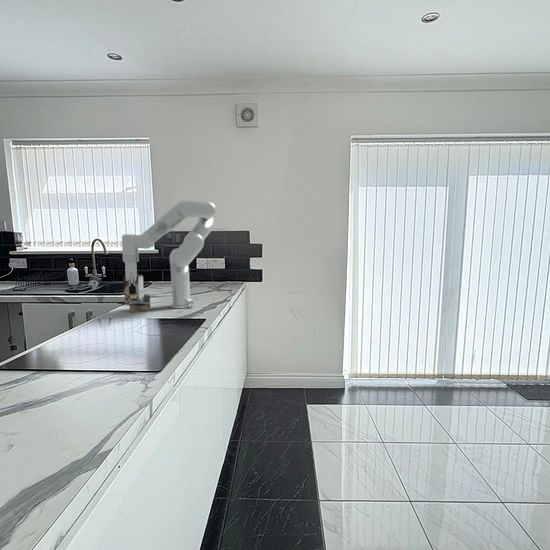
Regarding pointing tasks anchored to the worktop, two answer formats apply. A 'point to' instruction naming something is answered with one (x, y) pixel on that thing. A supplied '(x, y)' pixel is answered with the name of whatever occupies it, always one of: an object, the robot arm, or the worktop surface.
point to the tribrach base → (139, 307)
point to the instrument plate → (136, 299)
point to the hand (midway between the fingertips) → (132, 293)
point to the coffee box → (138, 288)
